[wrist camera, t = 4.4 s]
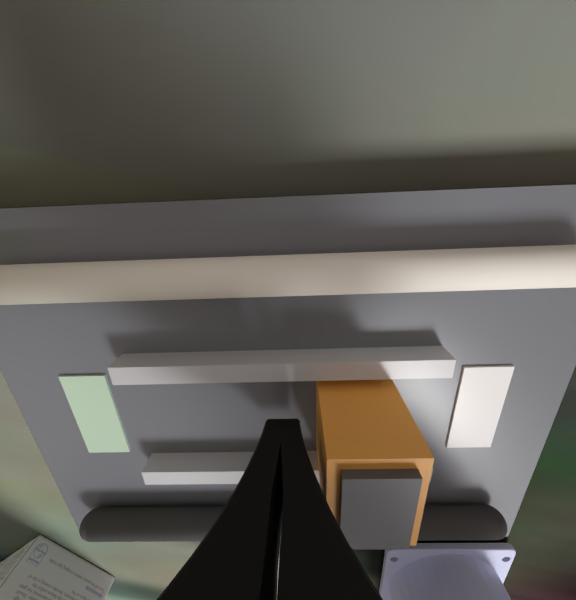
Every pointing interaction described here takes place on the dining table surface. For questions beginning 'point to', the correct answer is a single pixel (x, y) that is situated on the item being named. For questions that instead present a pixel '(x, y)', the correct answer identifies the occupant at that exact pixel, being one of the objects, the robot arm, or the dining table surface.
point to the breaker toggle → (371, 462)
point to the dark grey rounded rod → (200, 519)
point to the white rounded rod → (291, 275)
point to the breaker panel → (285, 344)
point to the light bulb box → (51, 574)
